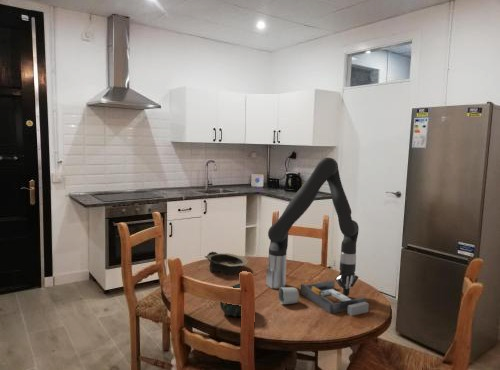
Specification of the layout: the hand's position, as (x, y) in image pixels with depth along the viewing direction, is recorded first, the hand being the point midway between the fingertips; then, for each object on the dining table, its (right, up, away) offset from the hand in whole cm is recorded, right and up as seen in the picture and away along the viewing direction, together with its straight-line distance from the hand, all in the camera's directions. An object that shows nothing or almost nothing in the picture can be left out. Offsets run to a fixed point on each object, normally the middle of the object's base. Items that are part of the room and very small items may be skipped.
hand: (346, 295), depth 189 cm
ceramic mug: (-30, -1, -7) cm, 31 cm away
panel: (+1, -3, -17) cm, 17 cm away
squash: (-53, -2, -21) cm, 57 cm away
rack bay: (-8, -1, -4) cm, 9 cm away
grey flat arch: (-8, -2, -4) cm, 9 cm away
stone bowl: (-61, +4, +35) cm, 70 cm away
